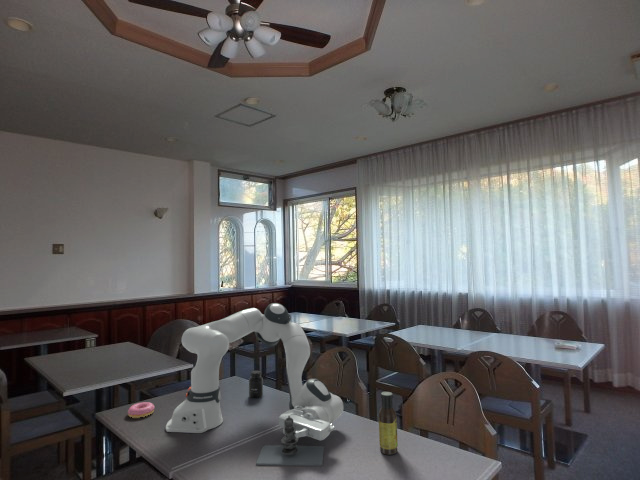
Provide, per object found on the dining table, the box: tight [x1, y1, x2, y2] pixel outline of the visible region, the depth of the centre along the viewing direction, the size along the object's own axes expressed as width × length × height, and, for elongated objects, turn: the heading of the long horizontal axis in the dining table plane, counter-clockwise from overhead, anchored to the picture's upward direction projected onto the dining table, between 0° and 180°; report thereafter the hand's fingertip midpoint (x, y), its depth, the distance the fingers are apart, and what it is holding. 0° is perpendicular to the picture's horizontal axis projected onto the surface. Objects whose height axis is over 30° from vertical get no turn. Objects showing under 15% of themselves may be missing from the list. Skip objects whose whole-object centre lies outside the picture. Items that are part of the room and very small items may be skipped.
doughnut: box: [127, 401, 155, 419], centre depth 173 cm, size 11×11×4 cm
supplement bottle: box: [248, 370, 264, 400], centre depth 192 cm, size 7×7×12 cm
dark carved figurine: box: [280, 416, 299, 454], centre depth 134 cm, size 6×6×12 cm
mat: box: [255, 444, 325, 467], centre depth 135 cm, size 22×12×1 cm, turn 86°
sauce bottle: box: [378, 391, 399, 455], centre depth 137 cm, size 6×6×20 cm
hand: (289, 433), depth 134 cm, fingers closed on dark carved figurine, 3 cm apart
